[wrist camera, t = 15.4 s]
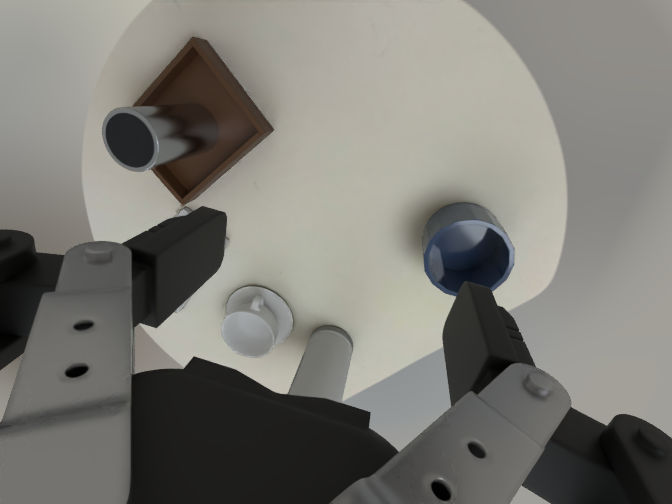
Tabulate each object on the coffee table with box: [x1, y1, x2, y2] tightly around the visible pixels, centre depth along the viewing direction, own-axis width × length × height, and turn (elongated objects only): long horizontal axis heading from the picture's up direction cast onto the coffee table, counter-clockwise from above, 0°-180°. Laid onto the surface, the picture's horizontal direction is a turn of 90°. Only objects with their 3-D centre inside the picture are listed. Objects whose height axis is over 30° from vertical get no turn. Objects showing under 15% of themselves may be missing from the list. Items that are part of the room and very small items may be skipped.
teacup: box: [221, 286, 293, 358], centre depth 49 cm, size 10×10×5 cm
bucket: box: [422, 203, 514, 297], centre depth 39 cm, size 9×9×6 cm
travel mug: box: [287, 326, 353, 403], centre depth 42 cm, size 6×7×20 cm
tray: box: [132, 37, 274, 205], centre depth 41 cm, size 14×11×3 cm
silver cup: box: [102, 103, 219, 172], centre depth 36 cm, size 5×5×11 cm
